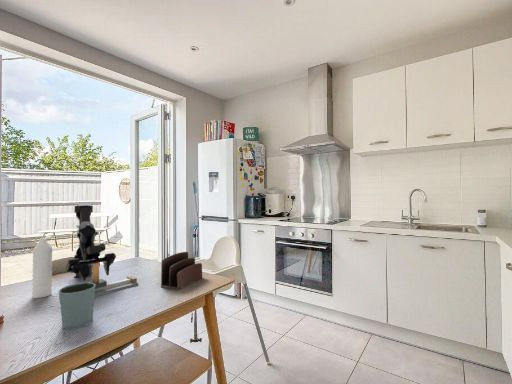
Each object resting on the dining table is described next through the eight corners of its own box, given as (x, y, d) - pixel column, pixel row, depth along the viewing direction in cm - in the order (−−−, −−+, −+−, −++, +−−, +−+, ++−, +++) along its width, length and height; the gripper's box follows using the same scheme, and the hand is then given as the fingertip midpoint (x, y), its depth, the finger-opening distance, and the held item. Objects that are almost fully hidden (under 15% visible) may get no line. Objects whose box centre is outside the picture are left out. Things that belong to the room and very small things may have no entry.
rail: (129, 281, 130) (129, 275, 131) (138, 285, 125) (138, 278, 125) (68, 296, 111) (68, 289, 111) (74, 301, 105) (74, 294, 105)
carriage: (101, 283, 119) (101, 260, 120) (106, 285, 115) (106, 263, 116) (84, 287, 114) (84, 263, 114) (88, 290, 110) (89, 266, 110)
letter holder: (160, 287, 121) (160, 257, 122) (187, 275, 140) (187, 249, 140) (177, 290, 117) (177, 259, 118) (202, 278, 136) (202, 251, 136)
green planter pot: (101, 315, 92) (101, 282, 92) (83, 330, 82) (83, 292, 82) (72, 316, 92) (72, 282, 92) (50, 331, 82) (50, 293, 82)
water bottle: (46, 297, 109) (47, 238, 110) (28, 299, 108) (29, 239, 108) (57, 290, 118) (58, 235, 118) (41, 291, 116) (41, 236, 117)
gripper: (68, 241, 111) (76, 271, 103) (114, 235, 125) (124, 262, 117) (63, 256, 116) (70, 287, 108) (108, 250, 130) (117, 276, 122)
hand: (96, 277), depth 114 cm, fingers open, 9 cm apart
